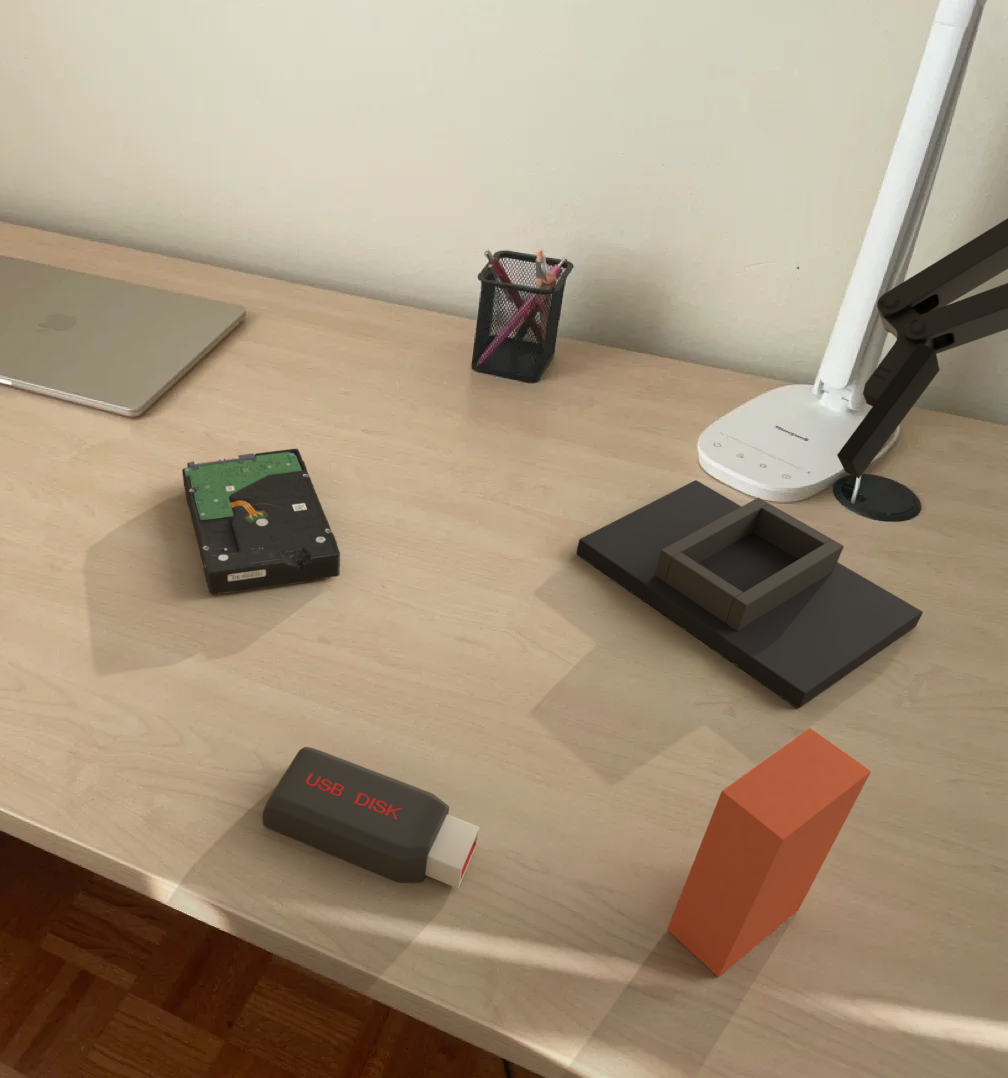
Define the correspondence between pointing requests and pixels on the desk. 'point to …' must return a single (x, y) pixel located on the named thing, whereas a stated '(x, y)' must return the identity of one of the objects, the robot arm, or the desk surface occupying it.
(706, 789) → the desk surface
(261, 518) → the disk drive
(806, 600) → the socket base
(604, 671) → the desk surface
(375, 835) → the usb drive
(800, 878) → the orange rectangular block
